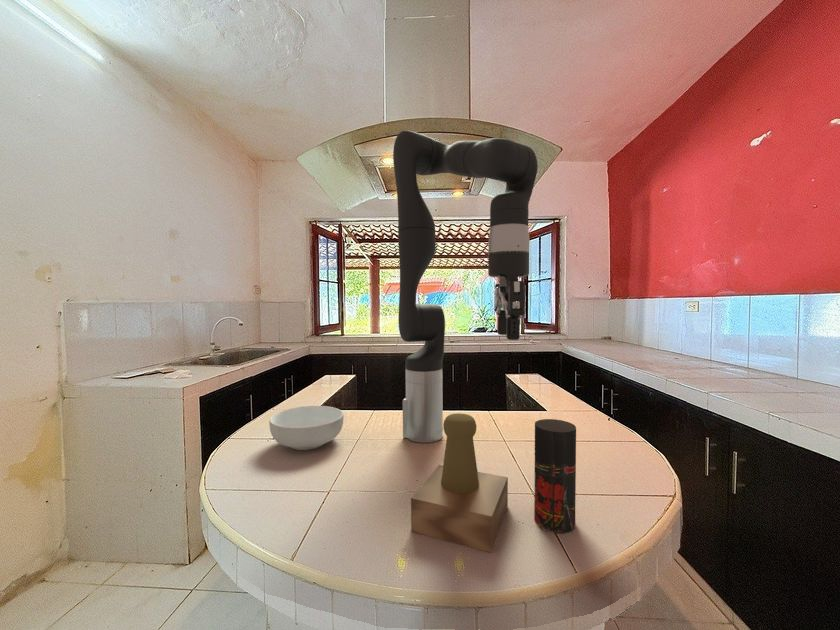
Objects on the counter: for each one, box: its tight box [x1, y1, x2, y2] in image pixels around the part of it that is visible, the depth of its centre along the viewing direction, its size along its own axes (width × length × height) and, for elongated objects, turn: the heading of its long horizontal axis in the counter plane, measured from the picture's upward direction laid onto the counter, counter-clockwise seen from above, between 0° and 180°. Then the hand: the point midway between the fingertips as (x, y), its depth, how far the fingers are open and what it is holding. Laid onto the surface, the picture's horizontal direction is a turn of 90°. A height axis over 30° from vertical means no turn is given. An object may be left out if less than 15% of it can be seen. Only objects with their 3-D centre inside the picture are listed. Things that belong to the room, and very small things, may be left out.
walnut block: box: [410, 464, 509, 553], centre depth 58 cm, size 12×12×5 cm
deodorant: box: [533, 418, 577, 534], centre depth 57 cm, size 6×6×15 cm
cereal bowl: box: [268, 405, 345, 451], centre depth 89 cm, size 17×17×7 cm
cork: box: [441, 413, 479, 494], centre depth 58 cm, size 6×6×11 cm
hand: (507, 337), depth 70 cm, fingers open, 8 cm apart
